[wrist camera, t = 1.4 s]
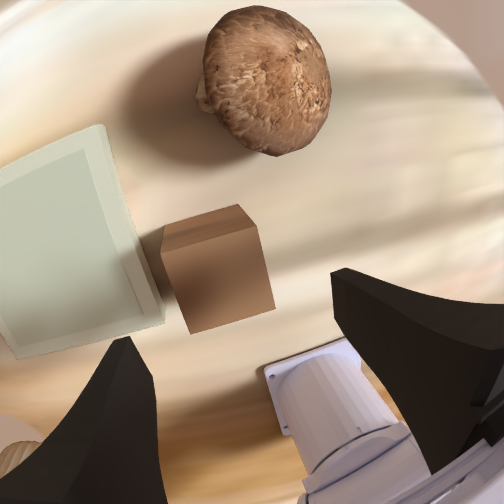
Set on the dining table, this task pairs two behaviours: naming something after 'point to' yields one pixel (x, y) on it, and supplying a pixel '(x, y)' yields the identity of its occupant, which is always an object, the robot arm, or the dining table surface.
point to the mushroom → (265, 80)
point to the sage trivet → (70, 250)
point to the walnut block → (216, 268)
